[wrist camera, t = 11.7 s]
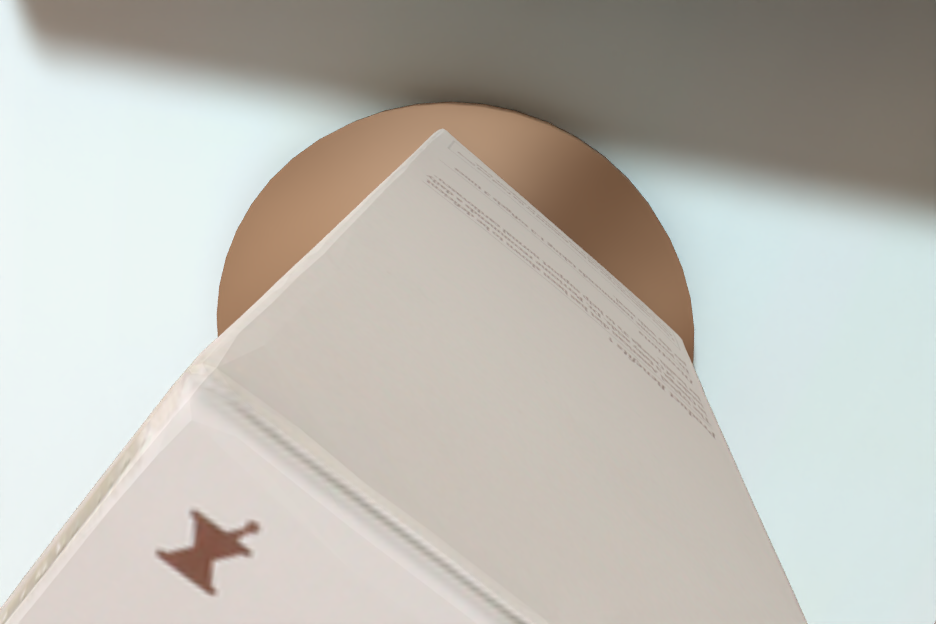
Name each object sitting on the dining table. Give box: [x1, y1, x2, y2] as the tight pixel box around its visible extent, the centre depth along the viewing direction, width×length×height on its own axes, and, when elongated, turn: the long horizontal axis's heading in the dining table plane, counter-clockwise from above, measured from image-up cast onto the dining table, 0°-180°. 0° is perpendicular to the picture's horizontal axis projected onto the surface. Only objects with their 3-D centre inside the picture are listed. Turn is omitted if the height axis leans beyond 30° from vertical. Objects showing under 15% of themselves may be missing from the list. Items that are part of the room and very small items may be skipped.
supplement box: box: [0, 129, 808, 624], centre depth 12 cm, size 7×7×13 cm
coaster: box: [217, 102, 694, 364], centre depth 19 cm, size 11×11×1 cm
